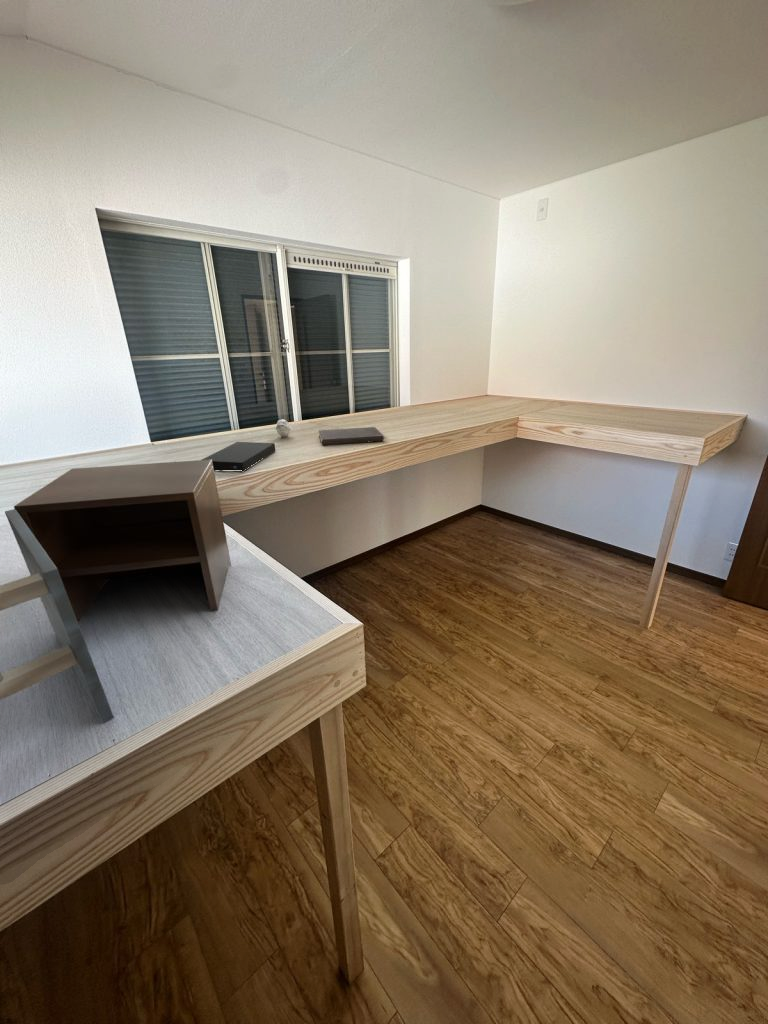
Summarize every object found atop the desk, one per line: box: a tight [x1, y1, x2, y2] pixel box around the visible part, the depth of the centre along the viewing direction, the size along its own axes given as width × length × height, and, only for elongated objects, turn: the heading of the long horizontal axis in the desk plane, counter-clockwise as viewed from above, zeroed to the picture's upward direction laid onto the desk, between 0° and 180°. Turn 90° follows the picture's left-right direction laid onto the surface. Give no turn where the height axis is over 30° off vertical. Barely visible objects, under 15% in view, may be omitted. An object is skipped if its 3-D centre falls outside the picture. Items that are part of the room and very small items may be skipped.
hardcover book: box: [317, 426, 385, 446], centre depth 160 cm, size 16×23×2 cm
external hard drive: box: [201, 441, 276, 472], centre depth 135 cm, size 14×23×3 cm, turn 170°
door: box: [0, 508, 115, 725], centre depth 44 cm, size 8×20×20 cm, turn 47°
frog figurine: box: [275, 418, 292, 438], centre depth 164 cm, size 6×7×7 cm
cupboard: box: [13, 459, 232, 623], centre depth 62 cm, size 15×20×20 cm
